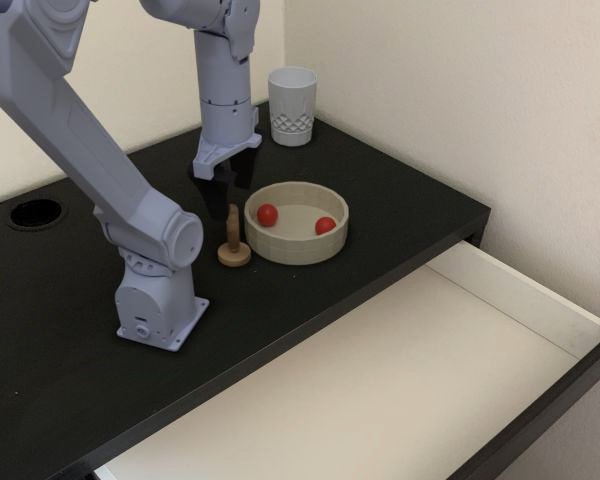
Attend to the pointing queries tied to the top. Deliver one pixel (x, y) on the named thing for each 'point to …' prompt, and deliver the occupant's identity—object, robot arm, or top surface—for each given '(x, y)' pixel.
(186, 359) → the top surface
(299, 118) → the white cup
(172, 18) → the robot arm
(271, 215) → the tomato
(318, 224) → the tomato
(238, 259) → the wooden peg stand
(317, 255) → the bowl
